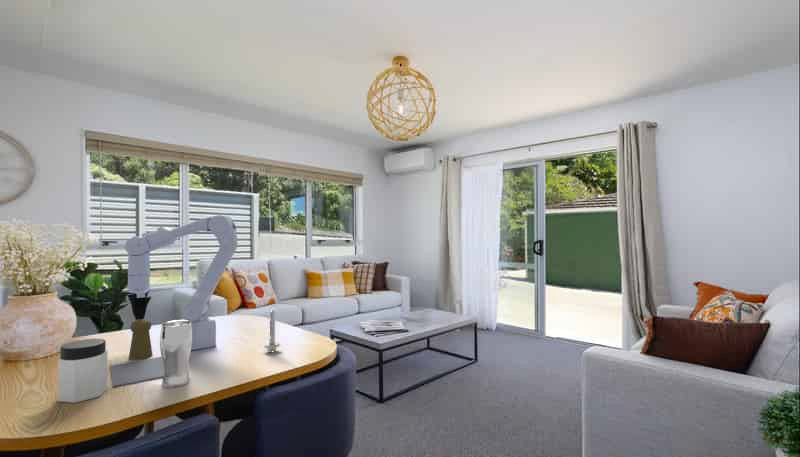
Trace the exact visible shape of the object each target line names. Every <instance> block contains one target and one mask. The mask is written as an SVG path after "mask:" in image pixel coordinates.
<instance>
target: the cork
mask: <svg viewBox="0 0 800 457" xmlns="http://www.w3.org/2000/svg"><path fill="white" fill-rule="evenodd" d="M151 328H152V322H151V320H149V319H141V320H135V321H132V322H131V324H130V331H131V333H132V335H131V337H132V338H131V341H130V342H131V343H130V348H129V355H128V360H129V361H139V360H144V359H150V358H152V357H153V356H154V355H153V350H152V349H153V348H152V342H151V335H150V329H151Z"/></svg>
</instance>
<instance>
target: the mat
mask: <svg viewBox="0 0 800 457" xmlns="http://www.w3.org/2000/svg"><path fill="white" fill-rule="evenodd" d="M109 368H110V377H111V385H112V388H119V387H124V386H128V385H134V384H137V383H139V384H140V383H143V382H144V383H145V382H149V381H152V380H154V381H155V380H158V379H163V376H164V366H163V361H162V356H157V357H149V358H146V359H142V360H132V361H129V362H128V361H127V362H122V363H116V364H110V365H109Z"/></svg>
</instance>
